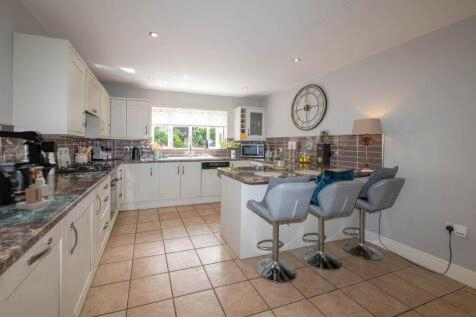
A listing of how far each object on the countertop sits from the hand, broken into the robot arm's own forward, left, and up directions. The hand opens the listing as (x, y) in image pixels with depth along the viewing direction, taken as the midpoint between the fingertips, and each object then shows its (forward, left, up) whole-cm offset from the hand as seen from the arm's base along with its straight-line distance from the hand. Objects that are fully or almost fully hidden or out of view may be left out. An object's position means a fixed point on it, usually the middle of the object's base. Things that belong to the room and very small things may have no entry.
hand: (36, 179), depth 130 cm
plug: (+5, -10, -13) cm, 17 cm away
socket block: (+5, -10, -13) cm, 17 cm away
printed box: (-8, +13, -13) cm, 20 cm away
